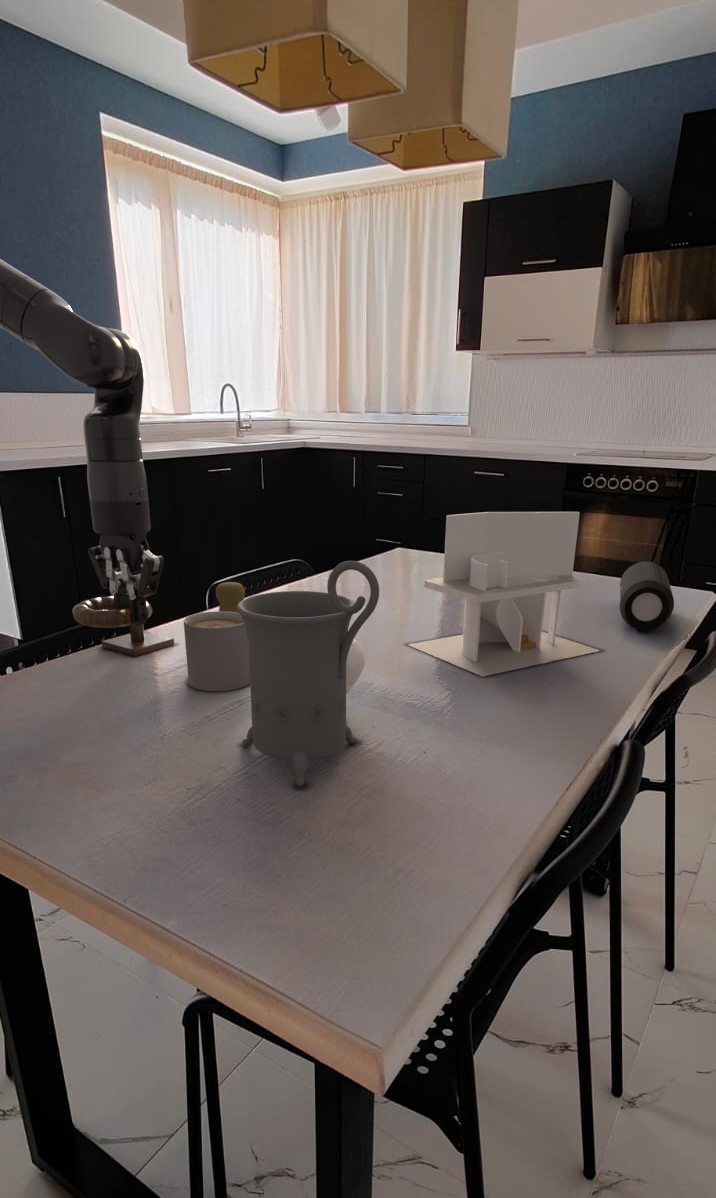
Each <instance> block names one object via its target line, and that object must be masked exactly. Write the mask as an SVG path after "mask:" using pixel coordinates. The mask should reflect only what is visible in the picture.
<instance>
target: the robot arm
mask: <svg viewBox="0 0 716 1198" xmlns="http://www.w3.org/2000/svg"><path fill="white" fill-rule="evenodd" d="M0 328H1V329H2V330H4V331H6V332H7V333H9V334H10V335H12V336H13V337H15V338H17V339H18V340H20V341H21V342H23V343H25V344H26V345H28V346H29V347H31V348H33V349H34V350H37V351H38V352H40V353H41V354H42V355H43V356H44V357H45V359H47V360H48V361H49V362H50V363H51V364H52V365H54V367H56V369H58V370H59V371H60V372H62V373H63V374H64V375H65V376H67V377H68V378H70V379H71V380H73V381H75V382H76V383H78V384H80V385H82V386H83V387H86V388H89V389H94V397H93V398H94V400H93V408H92V410H91V411H89V412H88V413H87V414H86V415H85V416H84V418H83V423H82V424H83V425H82V426H83V437H84V445H85V454H86V465H87V466H86V467H87V469H86V480H87V488H88V489H87V490H88V496H89V504H90V513H91V521H92V530H93V531H94V532H95V533H96V534H97V535H100V538H99V545H96V546H94V547H89V548H87V553H88V556H89V559H90V561H91V563H92V565H93V568H94V571H95V573H96V576H97V578H98V580H99V583H100V586H101V588H102V589H103V590H109V593H110V594H111V596H113V597H114V606H115V610H117V609H125V608H130V614H131V623H132V624H133V625H136V626H138V625H142V624H143V625H145V624H146V623H147V622H148V618H149V617H148V615H147V605H146V601H147V597H149V596H153V595H155V594H157V591H158V588H159V584H160V580H161V577H162V573H163V569H164V564H165V558H164V556H162V555H155V554H154V553H152V552H151V551H150V545H149V542H148V540H147V533H149V532H150V531H151V530H152V529H151V528H152V525H151V515H150V514H151V513H150V503H149V502H150V501H149V493H148V492H149V491H148V482H147V481H148V480H147V474H146V470H145V465H144V460H143V457H144V456H143V448H142V439H141V438H142V437H141V430H140V421H141V413H142V407H143V398H144V397H143V396H144V386H145V385H144V384H145V370H144V369H145V368H144V362H143V359H142V357H143V356H142V354H141V351H140V349H139V347H138V344H137V343H136V342H135V340H134V339H133V338H132V337H131V336H130V335H129V334H128V333H126V332H124V331H122V330H119V329H116V328H110V327H104V326H99V325H96V324H95V323H92V322H91V321H88V320H86V319H85V318H83V317H81V316H80V315H78V314H77V313H76V312H74V311H73V310H72V308H71V306H70V305H69V304H68V302H67V301H66V300H65V299H63V298H62V297H61V296H60V295H58V294H57V293H55V292H54V291H52V290H51V289H49V288H48V287H46V286H44V285H43V284H42V283H40V282H38V281H37V280H35V279H33V278H32V277H30V276H28V275H27V274H26V273H24V272H23V271H20V270H19V269H17V268H15V267H14V266H12V265H11V264H9V263H7V262H6V261H5V260H4V259H1V258H0ZM133 574H134V575H133ZM136 581H138V583H139V585H138V589H136V586H135V582H136ZM127 592H128V593H129V594H128V593H127ZM130 598H131V599H130ZM147 617H148V618H147Z"/></svg>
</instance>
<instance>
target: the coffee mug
mask: <svg viewBox="0 0 716 1198" xmlns="http://www.w3.org/2000/svg"><path fill="white" fill-rule="evenodd" d="M183 630H184V631H183V632H184V644H185V656H186V657H185V658H186V665H187V666H186V667H187V679H188V681H187V682H188V685H189V686H190V687H192V688H194V689H195V690H200V691H206V692H226V691H233V690H238V689H241V688H242V689H243V688H245V687H246V686H248V685H250V667H249V648H248V638H247V632H246V627H245V624H244V621H243V618H242V617H241V615H240V613H236V612H225V611H219V610H218V611H205V612H204V611H203V612H199V613H194V614H191V615H187V617H185V618H184V619H183Z"/></svg>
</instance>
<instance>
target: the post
mask: <svg viewBox="0 0 716 1198" xmlns="http://www.w3.org/2000/svg"><path fill="white" fill-rule="evenodd" d="M138 585H139V583H138V581H136V582H135V586H136V589H138ZM127 593H128V592H127ZM128 594H129V593H128ZM144 628H145V627H144V624H142V625H138V626H136V625H129V633H126V634H123V635H119V636H116V637H113V638H107V639H104V640H101V647H102V648H103V649H106V650H110V651H114V652H118V653H121V654H124V655H128V656H132V657H138V656H141V655H145V654H148V653H152V652H155V651H158V650H162V649H164V648H168V647H172V646H175V638H173V637H170V636H169V637H168V636H165V635H161V634H157V633H153V632H149V631H145V629H144ZM144 631H145V632H144Z"/></svg>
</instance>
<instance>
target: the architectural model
mask: <svg viewBox="0 0 716 1198" xmlns="http://www.w3.org/2000/svg"><path fill="white" fill-rule="evenodd" d="M580 514H581V512H580V511H484V512H471V513H458V514H447V515H446V517H445V518H446V519H445V536H444V537H445V538H444V540H445V541H444V558H443V575H442V576H440V577H439V576H438V577H432V578H431V577H430V578H425V579H424V585H423V586H424V588H425V589H428V590H430V591H431V590H432V591H435V592H439V593H443V594H446V595H449V596H453V597H457V598H460V599H464V612H463V613H464V614H463V630H462V634H458V635H453V636H447V637H440V638H436V639H431V640H430V639H429V640H425V641H419V642H412V643H409V644H406V645H407V646H409V647H411V648H414V649H417V650H418V651H421V652H423V653H426V654H428V655H429V656H430V655H431V656H432V657H435V658H437V659H440V660H442V661H445V662H447V663H450V664H452V665H453V666H457V667H458V668H461V669H464V670H466V671H469V672H470V673H473V674H475V675H478V676H480V677H487V676H492V675H496V674H500V673H505V672H509V671H514V670H515V671H516V670H519V669H525V668H528V667H531V666H537V665H542V664H547V663H551V662H555V661H559V660H565V659H569V658H573V657H578V656H583V655H587V654H592V653H598V652H601V651H602V650H601V649H597V648H594V647H592V646H588V645H585V644H582V643H579V642H575V641H573V640H570V639H567V638H563V637H560V636H557V628H558V619H559V611H560V601H561V592H562V591H563V590H570V589H574V588H577V587H578V586H579V578H577V577H576V576H574V565H575V556H576V548H577V539H578V532H579V523H580ZM547 593H552V595H551V604H550V613H549V614H550V615H549V622H548V632H545V631H543V625H544V618H545V617H544V616H545V607H546V597H547Z"/></svg>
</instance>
